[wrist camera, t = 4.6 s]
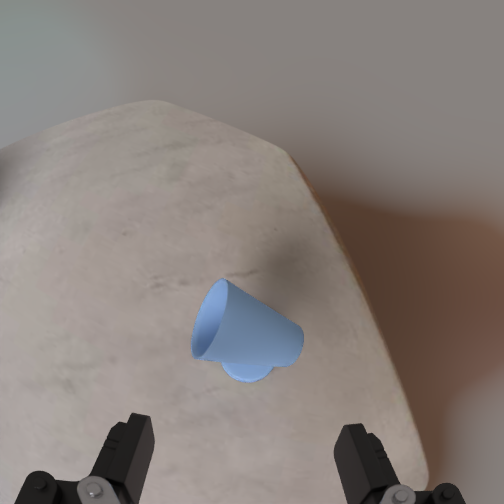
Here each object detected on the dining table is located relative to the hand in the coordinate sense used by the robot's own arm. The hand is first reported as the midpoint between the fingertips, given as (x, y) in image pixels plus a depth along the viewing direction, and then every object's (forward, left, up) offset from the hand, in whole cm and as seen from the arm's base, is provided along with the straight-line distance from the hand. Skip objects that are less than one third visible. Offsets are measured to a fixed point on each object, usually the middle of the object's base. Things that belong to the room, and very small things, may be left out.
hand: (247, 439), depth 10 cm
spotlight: (+6, 0, -11) cm, 13 cm away
